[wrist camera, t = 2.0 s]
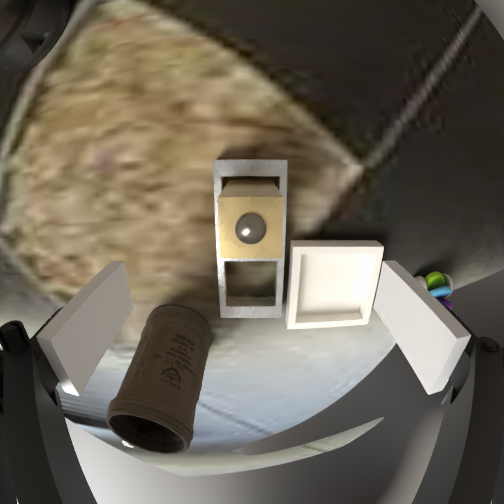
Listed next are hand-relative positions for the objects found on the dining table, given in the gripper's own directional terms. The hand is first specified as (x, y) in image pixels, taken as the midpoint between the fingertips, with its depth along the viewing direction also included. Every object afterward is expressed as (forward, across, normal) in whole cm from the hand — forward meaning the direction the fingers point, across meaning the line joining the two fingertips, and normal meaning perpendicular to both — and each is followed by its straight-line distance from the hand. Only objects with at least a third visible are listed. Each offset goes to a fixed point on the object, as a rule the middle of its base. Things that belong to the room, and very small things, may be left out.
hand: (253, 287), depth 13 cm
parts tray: (+21, +11, -11) cm, 26 cm away
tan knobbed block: (+21, 0, 0) cm, 21 cm away
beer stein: (+21, -12, -22) cm, 33 cm away
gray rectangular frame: (+21, 0, -5) cm, 22 cm away
